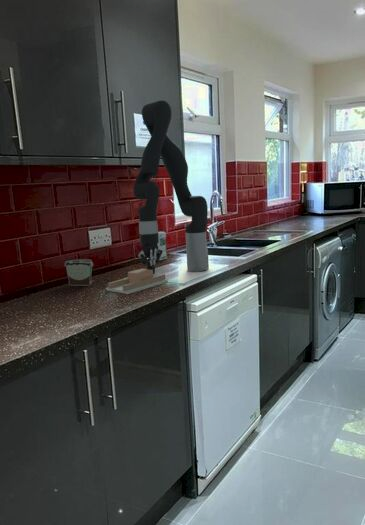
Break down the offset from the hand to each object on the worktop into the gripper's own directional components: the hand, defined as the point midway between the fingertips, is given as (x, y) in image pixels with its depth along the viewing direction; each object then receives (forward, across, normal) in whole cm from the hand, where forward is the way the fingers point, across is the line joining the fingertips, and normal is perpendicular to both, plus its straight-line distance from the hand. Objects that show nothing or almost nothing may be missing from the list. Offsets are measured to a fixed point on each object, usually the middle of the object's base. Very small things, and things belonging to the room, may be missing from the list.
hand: (151, 274), depth 178 cm
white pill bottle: (+3, -42, -34) cm, 54 cm away
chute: (+3, +8, 0) cm, 9 cm away
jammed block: (+2, +6, 0) cm, 6 cm away
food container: (+3, +16, -24) cm, 29 cm away
